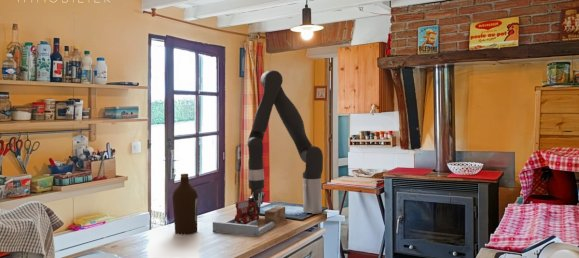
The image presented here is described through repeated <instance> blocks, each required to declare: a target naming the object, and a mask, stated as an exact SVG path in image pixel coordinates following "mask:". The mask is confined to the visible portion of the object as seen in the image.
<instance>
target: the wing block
mask: <svg viewBox="0 0 579 258" xmlns="http://www.w3.org/2000/svg"><path fill="white" fill-rule="evenodd" d="M285 220H286V206H282V205H281V206H280V205H276V206H274V207H273V206H272V207H271V208H269V209H267V210H265V211H264V225H266V224H268V223H270V222H274V224H275V225H278V224H279V223H281V222H283V221H285Z"/></svg>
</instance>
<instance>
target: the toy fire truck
mask: <svg viewBox="0 0 579 258" xmlns="http://www.w3.org/2000/svg"><path fill="white" fill-rule="evenodd" d="M235 209H236V214H235V217H234V218H235V221H236V223H237V224H241V222H242V224H245V225H246V224H248V223H250V222H252V221H254V220H258V221H259V219H260V218H259V217H260V216H259V215H260V214H259V215H258V214H257V208H256V206H255V203H254V202H252V199H247V200H246V199H245V200H242V201H241V200H240V201H237V202H236V203H235Z"/></svg>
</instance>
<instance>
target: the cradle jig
mask: <svg viewBox="0 0 579 258" xmlns="http://www.w3.org/2000/svg"><path fill="white" fill-rule="evenodd" d="M258 222H259V220H254V221H252V220H251V221H250V223H248V224H244V223H237V222H236V221H235V217H232V218H229V219H227V220H225V221H215V220H214V221H213V222H212V232H217V233H225V234H233V235H242V236H248V237H249V236H251V237H258V236H260V235H262V234H263V233H265V232H268V231H270V230H271V229H272V228H275V225H276V224H274V222H270V223H268V224H264V225H263V226H261V227H259V225H258V224H259V223H258Z"/></svg>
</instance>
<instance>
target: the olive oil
mask: <svg viewBox="0 0 579 258" xmlns="http://www.w3.org/2000/svg"><path fill="white" fill-rule="evenodd" d="M189 179H190V178H189V174H188V173H181V174H180V184H179V185H177V187H176V188H175V189H174V191H173V193H172V197H171V198H172V207H173V208H172V209H173V221H174V232H175V234H176V235H184V234H185V235H192V234H195V233H197V232H198V203H199V196H198V191H197V189H196V188H195V187H193V185H191V183H190V182H189Z"/></svg>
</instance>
